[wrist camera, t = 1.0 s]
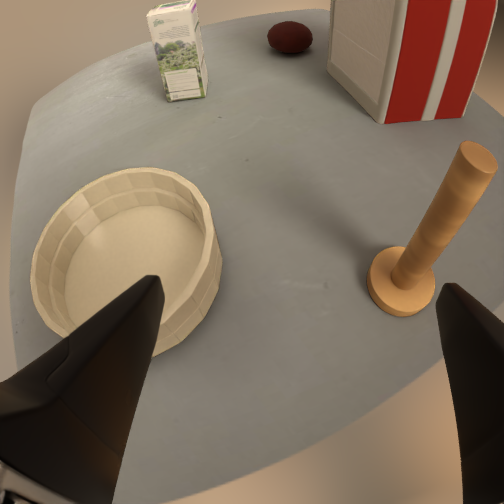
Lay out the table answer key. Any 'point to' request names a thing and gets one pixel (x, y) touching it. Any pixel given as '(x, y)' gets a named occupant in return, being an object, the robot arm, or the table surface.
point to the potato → (290, 37)
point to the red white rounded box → (409, 55)
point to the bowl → (128, 251)
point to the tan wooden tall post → (430, 235)
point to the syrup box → (179, 49)
